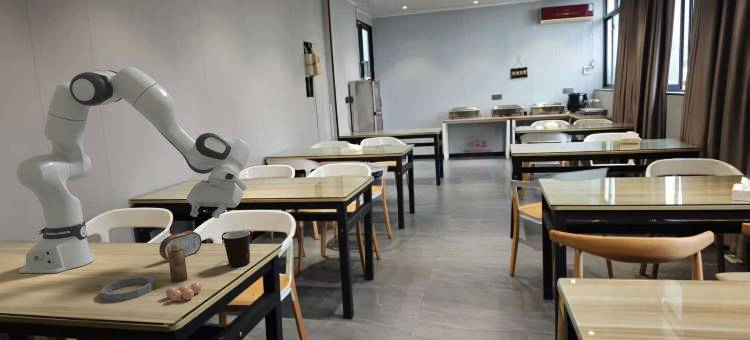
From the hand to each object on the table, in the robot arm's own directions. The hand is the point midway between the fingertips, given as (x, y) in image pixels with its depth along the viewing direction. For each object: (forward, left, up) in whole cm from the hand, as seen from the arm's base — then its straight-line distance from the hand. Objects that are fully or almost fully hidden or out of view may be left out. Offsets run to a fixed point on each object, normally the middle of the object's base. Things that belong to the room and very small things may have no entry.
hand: (203, 216), depth 157 cm
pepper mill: (-6, -11, -17) cm, 21 cm away
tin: (-13, +12, -17) cm, 24 cm away
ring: (-18, -18, -17) cm, 30 cm away
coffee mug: (+10, +1, -17) cm, 20 cm away
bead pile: (0, -25, -17) cm, 30 cm away
